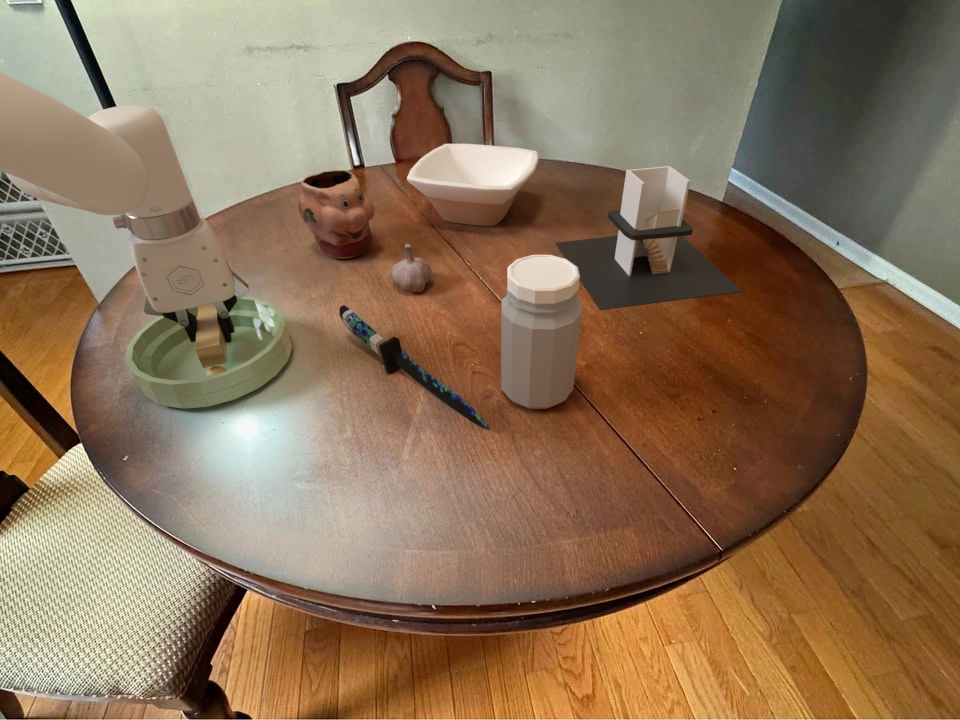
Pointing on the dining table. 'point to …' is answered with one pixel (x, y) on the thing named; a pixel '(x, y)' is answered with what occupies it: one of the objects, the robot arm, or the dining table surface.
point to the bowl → (473, 180)
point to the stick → (209, 338)
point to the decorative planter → (337, 213)
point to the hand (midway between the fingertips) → (214, 339)
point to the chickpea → (215, 370)
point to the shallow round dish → (182, 380)
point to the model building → (646, 248)
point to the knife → (406, 364)
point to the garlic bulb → (411, 272)
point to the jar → (540, 331)
